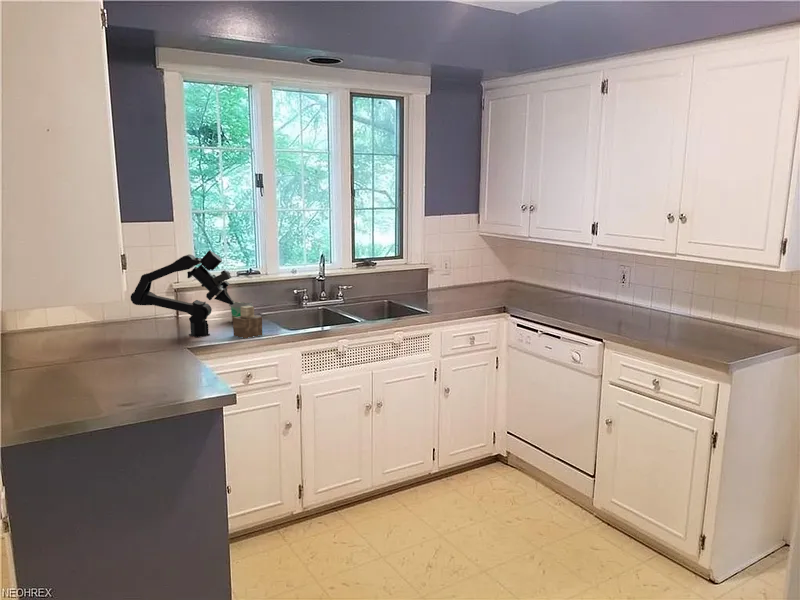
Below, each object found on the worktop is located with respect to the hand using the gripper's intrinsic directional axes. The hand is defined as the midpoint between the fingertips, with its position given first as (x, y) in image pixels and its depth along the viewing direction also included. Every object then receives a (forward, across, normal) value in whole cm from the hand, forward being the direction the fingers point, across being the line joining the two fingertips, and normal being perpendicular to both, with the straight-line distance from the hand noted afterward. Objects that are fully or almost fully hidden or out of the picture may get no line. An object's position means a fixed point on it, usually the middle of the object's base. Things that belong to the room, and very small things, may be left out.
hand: (232, 304), depth 260 cm
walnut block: (+14, 0, +5) cm, 15 cm away
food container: (+7, +26, +12) cm, 30 cm away
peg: (+10, 0, +2) cm, 10 cm away
